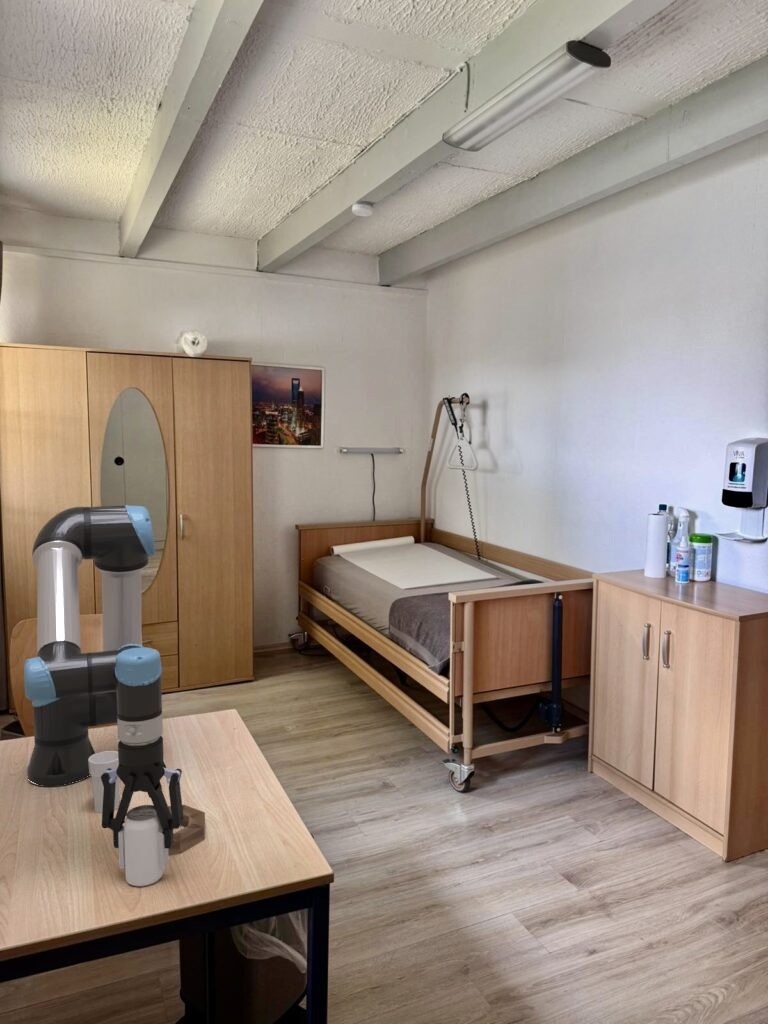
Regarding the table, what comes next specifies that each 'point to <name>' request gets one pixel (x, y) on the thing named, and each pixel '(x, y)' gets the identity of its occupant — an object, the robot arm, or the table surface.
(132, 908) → the table surface
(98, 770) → the cup
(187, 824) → the brown octagonal frame
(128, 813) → the can
